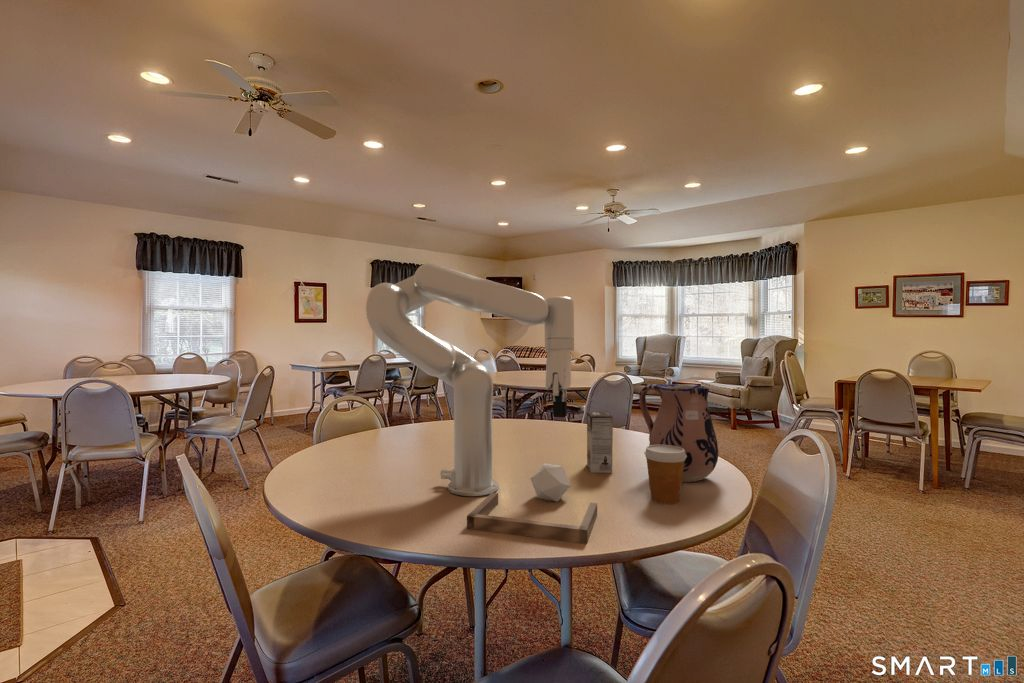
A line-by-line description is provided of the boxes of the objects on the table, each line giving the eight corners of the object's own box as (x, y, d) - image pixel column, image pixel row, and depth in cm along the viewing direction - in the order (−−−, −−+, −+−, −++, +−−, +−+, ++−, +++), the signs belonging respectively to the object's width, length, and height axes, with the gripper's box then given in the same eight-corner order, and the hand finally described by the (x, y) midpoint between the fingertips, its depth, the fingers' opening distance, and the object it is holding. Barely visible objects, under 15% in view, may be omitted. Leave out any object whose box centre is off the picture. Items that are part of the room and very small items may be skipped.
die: (575, 499, 116) (561, 461, 121) (572, 491, 109) (557, 452, 114) (543, 511, 116) (530, 473, 121) (538, 504, 109) (524, 464, 114)
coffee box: (586, 464, 145) (586, 410, 145) (607, 464, 145) (607, 410, 145) (590, 473, 136) (590, 415, 136) (613, 473, 136) (613, 415, 135)
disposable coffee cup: (639, 492, 119) (640, 443, 119) (679, 493, 119) (679, 444, 118) (649, 506, 109) (649, 453, 109) (692, 506, 109) (692, 453, 109)
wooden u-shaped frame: (466, 528, 97) (466, 515, 97) (492, 503, 111) (492, 492, 111) (586, 543, 90) (586, 530, 90) (597, 514, 104) (597, 503, 104)
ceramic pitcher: (713, 492, 119) (713, 390, 119) (628, 479, 130) (629, 386, 129) (722, 474, 135) (722, 384, 134) (645, 464, 145) (645, 380, 145)
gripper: (551, 344, 132) (552, 411, 133) (538, 346, 118) (538, 421, 118) (578, 344, 130) (579, 412, 130) (568, 346, 116) (569, 422, 116)
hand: (560, 416), depth 124 cm, fingers closed
